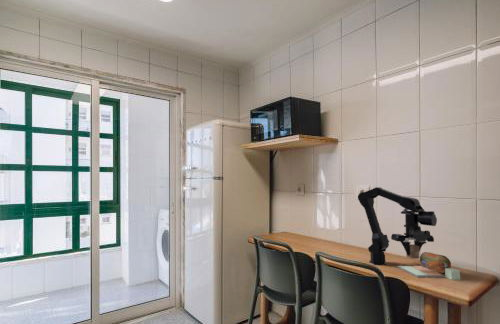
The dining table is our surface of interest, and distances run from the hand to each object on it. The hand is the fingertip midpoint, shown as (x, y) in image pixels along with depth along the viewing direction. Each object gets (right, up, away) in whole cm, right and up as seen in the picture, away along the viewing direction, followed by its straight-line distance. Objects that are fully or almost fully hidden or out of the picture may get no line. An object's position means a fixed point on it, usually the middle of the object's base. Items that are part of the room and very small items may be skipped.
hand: (412, 255), depth 142 cm
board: (+3, -8, -1) cm, 9 cm away
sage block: (+13, -8, -10) cm, 18 cm away
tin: (+13, -9, +3) cm, 16 cm away
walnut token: (0, -1, 0) cm, 1 cm away
